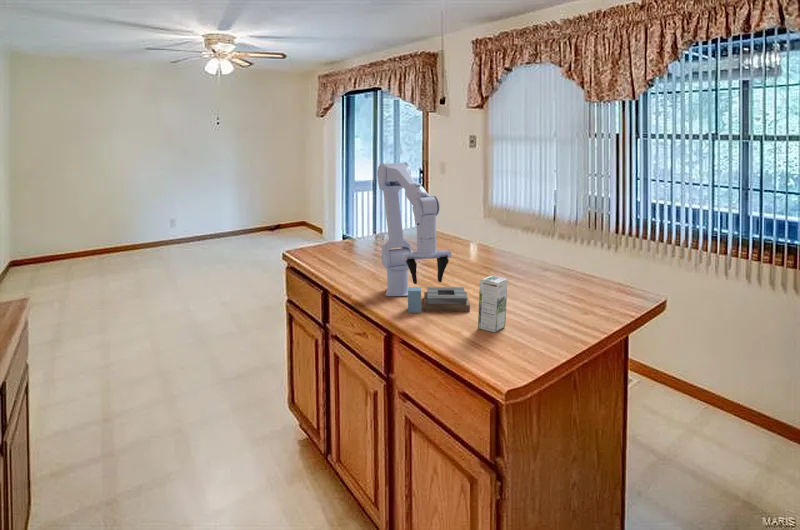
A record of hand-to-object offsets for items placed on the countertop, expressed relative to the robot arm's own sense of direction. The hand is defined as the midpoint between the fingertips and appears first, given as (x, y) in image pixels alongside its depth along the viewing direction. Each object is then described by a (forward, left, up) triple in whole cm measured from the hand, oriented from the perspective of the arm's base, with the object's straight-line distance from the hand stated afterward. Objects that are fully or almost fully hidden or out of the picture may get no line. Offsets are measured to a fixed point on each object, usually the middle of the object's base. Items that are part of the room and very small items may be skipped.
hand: (427, 282), depth 162 cm
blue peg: (-3, -4, -10) cm, 11 cm away
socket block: (-9, +6, -10) cm, 15 cm away
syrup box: (+12, +18, -10) cm, 24 cm away
